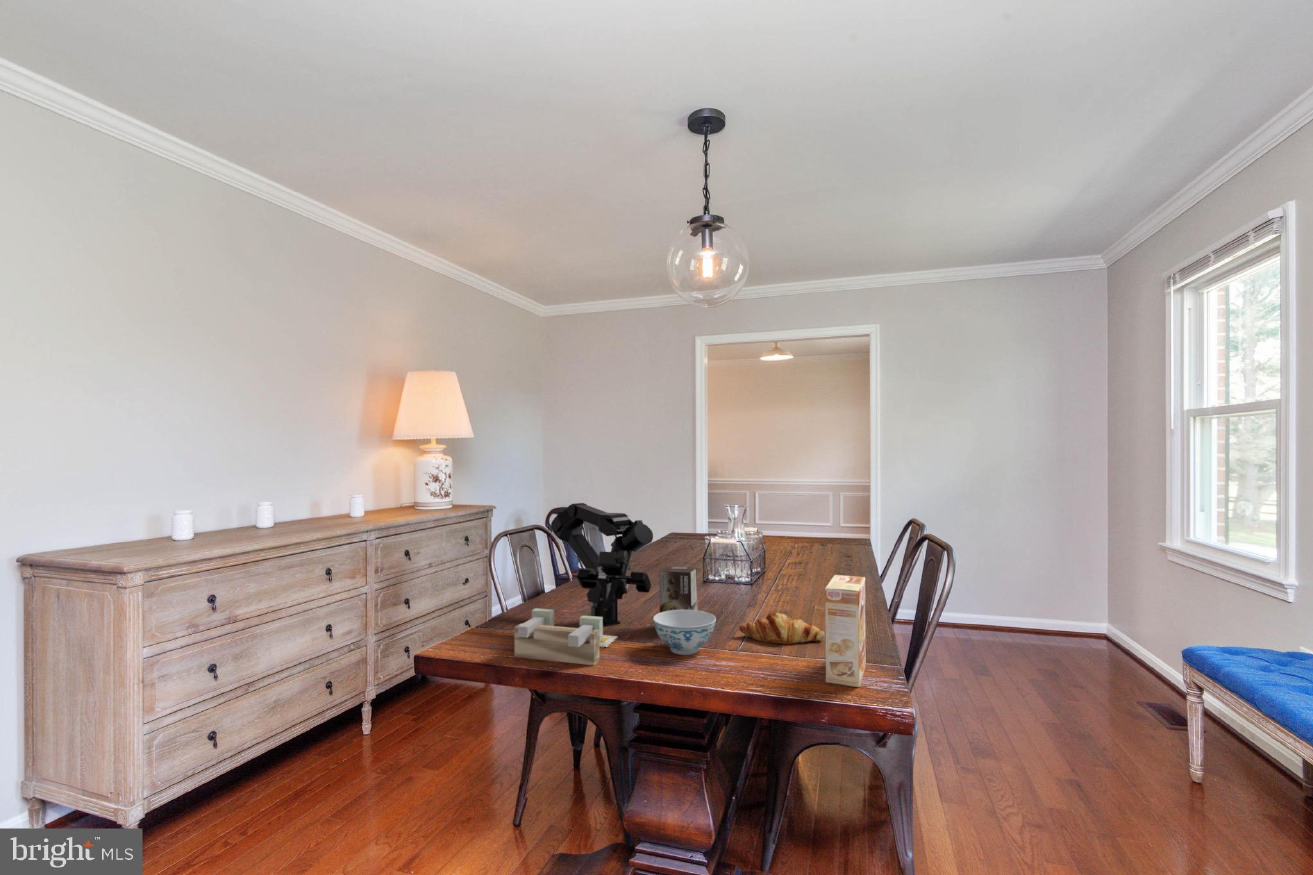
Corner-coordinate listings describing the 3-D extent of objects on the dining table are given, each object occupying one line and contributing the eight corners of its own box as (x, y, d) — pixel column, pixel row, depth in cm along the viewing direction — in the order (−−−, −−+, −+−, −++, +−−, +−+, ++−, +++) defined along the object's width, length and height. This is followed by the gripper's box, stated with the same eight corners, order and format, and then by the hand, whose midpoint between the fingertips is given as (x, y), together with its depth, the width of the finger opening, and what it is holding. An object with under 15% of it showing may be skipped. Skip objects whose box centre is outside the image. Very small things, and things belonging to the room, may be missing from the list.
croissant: (823, 651, 158) (822, 619, 162) (827, 644, 149) (826, 610, 153) (739, 646, 161) (739, 614, 165) (738, 638, 153) (739, 605, 156)
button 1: (535, 628, 154) (535, 608, 154) (554, 630, 152) (553, 609, 153) (512, 642, 143) (512, 620, 143) (532, 643, 142) (532, 621, 142)
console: (521, 652, 148) (520, 623, 148) (599, 660, 142) (599, 629, 142) (514, 657, 145) (514, 626, 145) (594, 665, 139) (594, 633, 139)
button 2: (583, 636, 147) (582, 615, 147) (602, 638, 146) (602, 616, 146) (562, 651, 136) (562, 628, 137) (583, 653, 135) (583, 630, 135)
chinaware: (676, 665, 139) (675, 630, 139) (641, 647, 151) (641, 615, 152) (729, 653, 147) (728, 620, 147) (692, 636, 159) (691, 606, 160)
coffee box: (698, 627, 168) (698, 567, 168) (692, 634, 162) (691, 571, 162) (666, 624, 171) (665, 565, 171) (658, 631, 164) (658, 569, 165)
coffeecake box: (860, 688, 125) (859, 590, 125) (824, 682, 128) (823, 587, 128) (867, 663, 139) (866, 576, 139) (834, 659, 142) (833, 573, 142)
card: (574, 634, 162) (574, 631, 162) (617, 637, 159) (617, 635, 159) (560, 643, 155) (560, 641, 155) (605, 647, 151) (605, 645, 151)
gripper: (578, 537, 162) (560, 589, 151) (646, 539, 157) (632, 593, 146) (591, 562, 169) (574, 613, 159) (656, 565, 164) (643, 618, 153)
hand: (605, 609), depth 154 cm, fingers closed
